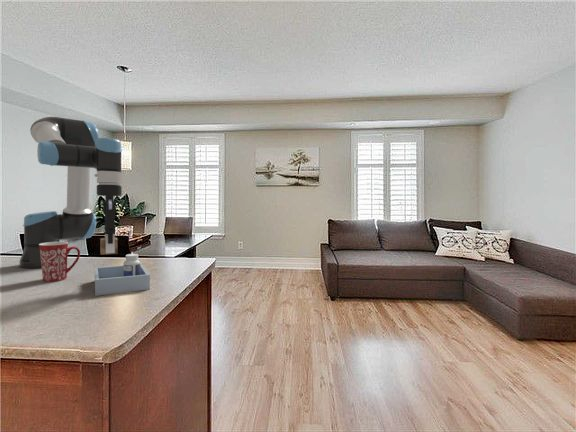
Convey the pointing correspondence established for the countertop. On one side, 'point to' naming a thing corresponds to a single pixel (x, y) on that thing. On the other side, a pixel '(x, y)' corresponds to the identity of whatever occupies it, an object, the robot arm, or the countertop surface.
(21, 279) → the countertop surface
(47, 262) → the mug
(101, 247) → the wooden cube
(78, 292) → the countertop surface
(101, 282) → the tote
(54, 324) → the countertop surface
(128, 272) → the pill bottle
